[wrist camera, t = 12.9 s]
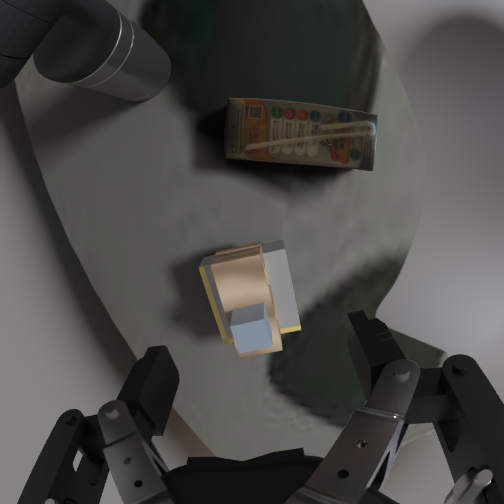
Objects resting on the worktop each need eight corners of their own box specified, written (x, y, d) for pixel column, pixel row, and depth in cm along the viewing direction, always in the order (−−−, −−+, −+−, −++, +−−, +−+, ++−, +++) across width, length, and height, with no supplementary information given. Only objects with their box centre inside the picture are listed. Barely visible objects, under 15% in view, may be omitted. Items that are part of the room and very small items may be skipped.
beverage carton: (361, 170, 41) (377, 174, 34) (226, 158, 41) (219, 160, 35) (365, 116, 38) (382, 112, 32) (229, 102, 38) (223, 94, 32)
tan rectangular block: (216, 251, 41) (210, 265, 36) (260, 242, 40) (259, 254, 36) (241, 337, 45) (239, 357, 40) (280, 330, 45) (282, 350, 40)
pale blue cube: (232, 309, 38) (229, 326, 34) (263, 302, 38) (264, 319, 34) (242, 334, 39) (240, 353, 35) (271, 328, 39) (272, 346, 35)
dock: (203, 257, 46) (198, 267, 42) (282, 240, 44) (284, 248, 40) (226, 329, 50) (223, 343, 46) (298, 315, 48) (301, 329, 44)
